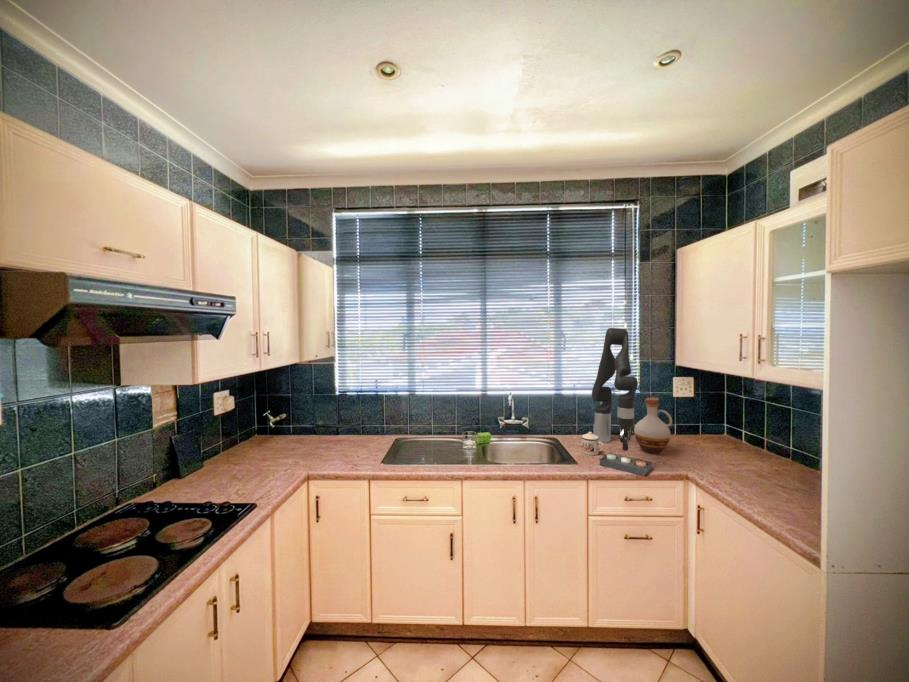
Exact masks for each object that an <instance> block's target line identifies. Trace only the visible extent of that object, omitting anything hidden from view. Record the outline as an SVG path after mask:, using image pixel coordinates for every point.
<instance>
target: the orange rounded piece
mask: <svg viewBox="0 0 909 682" xmlns="http://www.w3.org/2000/svg"><path fill="white" fill-rule="evenodd" d="M636 465H638V466H642V467H646V462H644V461H636Z"/></svg>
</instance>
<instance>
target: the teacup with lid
mask: <svg viewBox="0 0 909 682" xmlns="http://www.w3.org/2000/svg"><path fill="white" fill-rule="evenodd" d="M599 445H601V448H599ZM604 448H605V445H604V442H600V441H599V437H598V436H596V435H594V434H593V432H592V431H588V432H587V433H584V434H582V435H581V452H582V454H585V455H588V456H597V455H599V452H600V451H602V450H604Z"/></svg>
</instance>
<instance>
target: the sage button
mask: <svg viewBox="0 0 909 682" xmlns="http://www.w3.org/2000/svg"><path fill="white" fill-rule="evenodd" d="M606 454H607V458H608V459H613V460H616V455H613V454H608V453H606Z"/></svg>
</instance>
